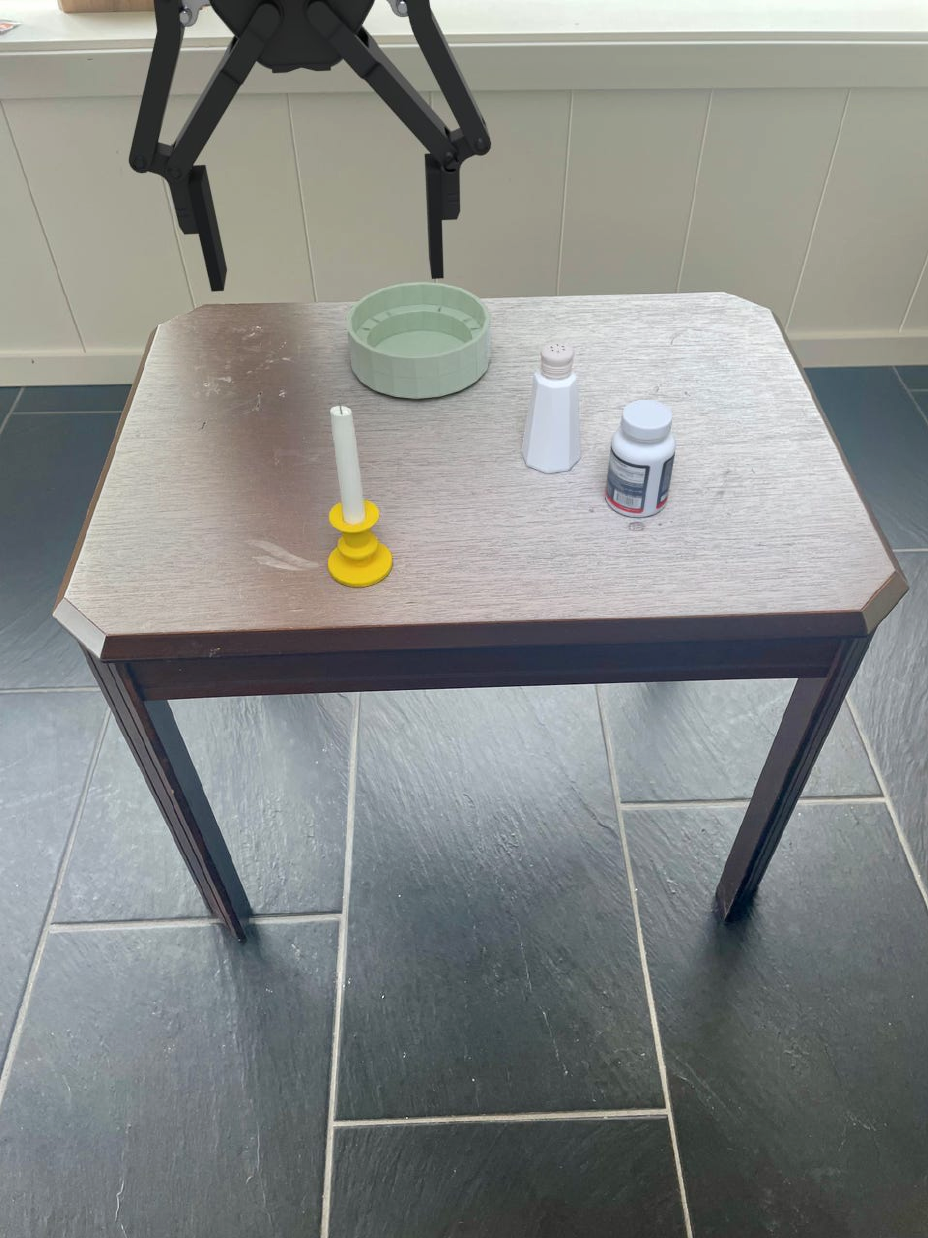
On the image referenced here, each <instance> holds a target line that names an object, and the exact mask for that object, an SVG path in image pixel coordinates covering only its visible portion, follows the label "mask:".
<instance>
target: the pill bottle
mask: <svg viewBox="0 0 928 1238" xmlns="http://www.w3.org/2000/svg"><path fill="white" fill-rule="evenodd" d="M621 412H622V413H621V417H620V418H621V419H620V426H619V427H618V428H616V429H615V431H614V432H613V434H612V437H611V441H610V449H609V458H608V466H607V474H606V475H607V477H606V484H605V499H606V502H607V504H608V505H609V507H610V508H611V509H613V510H614V511H616V513H619V514H621V515H623V516H625V517H630V518H645V517H650V516H653V515H656V514H657V513H659V512H660V511H662V510H663V509H664V508H665V507H666V504H667V501H668V498H669V497H668V496H669V491H670V486H671V481H672V474H673V468H674V462H675V457H676V456H675V455H676V448H677V441H676V438H675V437H676V436H675V435H674V433H673V432H672V430H671V429H672V425H673V412H672V410H671V408H670V407H668V406H667V405H666V404H665V403H662V402H660V401H657V400H655V399H654V400H653V399H637V400H634V401H630V402H629V403H627V404H626V405H625V406H624V408H623V409H622V411H621Z"/></svg>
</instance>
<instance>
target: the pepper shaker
mask: <svg viewBox="0 0 928 1238" xmlns="http://www.w3.org/2000/svg"><path fill="white" fill-rule="evenodd" d="M539 354H540V367H539V368H538V370H536V371H535V373H533V378H532V382H531V387H530V393H529V401H528V407H527V413H526V419H525V426H524V431H523V432H524V433H523V439H522V444H521V450H520V451H521V454H522V457H523V459H524V462H525V465H526V466H527V467H529V468H531V469H534V470H536V471H539V472H541V473H544V474H546V475H549V474H555V473H556V474H557V473H563V472H569V471H570V470H571V469H572V468H573V467H574V466H575V465H576V463H578V461H579V460H580V459H581V458H582V456H581V455H582V454H581V453H582V451H581V448H582V447H581V423H580V422H581V421H580V420H581V419H580V393H579V378H578V375H577V374H576V372H575V369H574V368H573V364H574V356H575V349H574V347H573V346H572V345H571V344H570V343H568V342H565V341H561V340H553V341H549V342H546V343H544V344H543V345H542V346H541V348H540V351H539Z"/></svg>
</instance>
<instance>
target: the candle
mask: <svg viewBox="0 0 928 1238" xmlns="http://www.w3.org/2000/svg"><path fill="white" fill-rule="evenodd" d="M329 412H330V424H331V432H332V433H331V434H332V441H333V446H334V447H333V448H334V455H335V457H334V458H335V463H336V471H337V478H338V485H339V486H338V487H339V494H340V501H339V502H338V503H337V504H335V505H334V506H333V507H332V508H331V509H330V511H329V514H328V521H329V523H330V525H331V526H332V527H333V528H334V529H336V530H338V531H339V532H341V536H340V537H339V538H338V541H337V546H336V547H335V548H334V549H333V550H332V551H331V553H330V554H329V556H328V559H327V570H328V572H329V575H330V576H331V578H332V579H333V580H334V581H336V582H337V583H339V584H341V585H344V586H347V587H351V588H366V587H370V586H373V585H376V584H378V583H380V582H382V581H383V580H384V579H385V578H386V577H388V576H389V574H390V573H391V571H392V569H393V563H394V562H393V555H392V552H391V550H390V549H389V548H388V547H387V546H386V545H385V544H384V543H382V542H380V541H379V540H378V537H377V536H376V534H375V533H373V532H372V531H371V528H372V527H374V526H375V525H376V524H377V522H378V521H379V518H380V510H379V508H378V506H377V505H376V504H375V503H374V502H372V501H370V500H367V499H364V491H363V484H362V476H361V468H360V460H359V451H358V444H357V443H358V442H357V438H356V436H357V435H356V429H355V423H354V422H355V421H354V419H353V418H354V417H353V411H352V409H351V408H349V407H347V406H343V405H342V403H340V402H339V404H338V405H336V406H333V407H331V408H330V411H329Z"/></svg>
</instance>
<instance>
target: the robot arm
mask: <svg viewBox="0 0 928 1238" xmlns="http://www.w3.org/2000/svg"><path fill="white" fill-rule="evenodd" d="M375 1H376V0H153V8H154V9H153V10H154V17H155V26H156V32H155V33H156V34H155V38H154V42H153V47H152V51H151V56H150V61H149V65H148V70H147V74H146V79H145V83H144V87H143V92H142V95H141V101H140V105H139V110H138V116H137V119H136V123H135V128H134V132H133V137H132V141H131V146H130V151H129V155H128V164H129V167H130V168H131V169H132V170H133V171H134V172H136V173H137V174H146V173H152V174H155V175H158V176H160V177H162V178H163V179H164V180H165V181H166V182H167V184H168V187H169V191H170V193H171V194H170V195H171V199H172V203H173V207H174V211H175V216H176V219H177V224H178V227H179V229H180V230H181V232H182V234H183V235H186V236H187V235H198V237H199V242H200V247H201V251H202V255H203V261H204V265H205V270H206V273H207V278H208V282H209V287H210V291H211V293H213V292H224V291H225V286H226V279H227V273H228V267H227V262H226V257H225V253H224V247H223V242H222V238H221V233H220V228H219V223H218V218H217V215H216V209H215V205H214V204H215V203H214V200H213V199H214V198H213V194H212V191H211V190H212V189H211V185H210V179H209V174H208V171H207V170H208V169H207V165H206V164H195V163H196V161H197V160H198V159H199V156H200V155H201V153H202V152H203V150H204V149H205V147H206V146H207V143H208V141H209V140H210V138H211V137H212V134H213V133H214V131H215V130H216V128H217V126H218V124H219V123H220V122H221V119H222V118H223V116H224V115H225V113H226V111H227V109H228V107H229V106H230V104H231V102H232V101H233V99H234V97H235V96H236V94H237V92H238V91H239V89H240V88H241V86H242V85H244V83H245V81H246V79H247V78H248V76H249V75H250V73H251V72H252V69H253V68H254V66H255V65H256V63H258V64H259V65H260V66H262V67H263V68H266V69H268V70H271V72H272V73H271V74H288V73H290V72H293V71H295V70H299V69H306V70H310V71H314V72H330V71H332V67H335V66H337V65H338V64H339V63H340V62H342V61H344V62H345V63H346V64H347V65H348V66H349V67H350V69H352V71H353V73H355V74H356V75H357V76H358V77H359V78H360V79H362V80H363V81H365V82H366V83H367V84H368V85H369V86H370V88H371V89H372V90H373V91H374V92H375V93H376V94H377V95H378V96H379V97H380V99H381V101H383V102H384V103H385V104H386V105H387V107H388V108H389V109H390V110H391V111H392V112H393V113H394V115H396V117H398V119H399V120H400V121H401V122H402V123H403V124H404V126H405V127H406V128H407V130H409V131H410V132H411V134H412V135H413V136H415V138H416V139H417V140H418V141H419V143H421V145H422V146H423V147H424V148H425V149H426V151H428V152H429V153H424V172H425V173H424V175H425V198H426V215H427V216H426V220H427V222H426V223H427V244H428V261H429V268H430V276H431V280H438V279H439V280H440V279H445V276H444V275H445V274H444V273H445V272H444V243H443V221H457V220H458V218H459V216H460V213H461V183H460V182H461V178H460V177H461V167H462V164H463V163H464V162H465V161H466V160H467V159H470V158H472V157H474V156H477V157H478V156H479V157H482V156H485V155H487V154H489V152H490V150H491V148H492V141H491V137H490V133H489V128H488V125H487V122H486V121H485V118H484V116H483V114H482V112H481V109H480V107H479V105H478V104H477V102H476V99H475V98H474V96H473V93H472V91H471V89H470V87H469V85H468V83H467V80H466V79H465V76H464V75H463V72H462V70H461V68H460V66H459V64H458V61H457V60H456V57H455V56H454V54H453V51H452V49H451V47H450V45H449V43H448V41H447V39H446V37H445V35H444V33H443V31H442V29H441V27H440V25H439V22H438V20H437V18H436V16H435V14H434V12H433V9H432V8H431V2H430V0H385V1H386V2H387V3H388V4H389V7H390V8H391V11H392V13H393V14H394V15H396V16H397V17H398V18H407V17H408V22H409V26H410V28H411V31H412V33H413V36H414V39H415V40H416V43H417V45H418V47H419V49H420V51H421V53H422V56H424V58H425V61H426V63H427V65H428V66H429V70H430V71H431V73H432V75H433V76H434V77H433V78H434V79H435V81H436V83H437V84H438V86H439V89H440V91H441V93H442V95H443V97H444V100H445V101H446V102H447V105H448V107H449V109H450V111H451V112H452V115H453V116H454V118H455V121H456V122H457V125H458V126H459V128H456V129H453V130H451V129H450V128H449V127H448V126H447V124H446V123H445V122H444V120H442V119H441V117H440V116H439V115H438V114H437V113H436V111H435V110H434V109H433V108H432V107H431V106H430V104H428V102H427V101H426V100H425V99H424V98H423V97H422V95H421V94H420V93H419V92H418V91H417V89H416V88H415V87H414V86H413V85H412V83H410V81H409V80H408V79H407V78H406V77H405V76H404V74H403V73H402V72H401V71H400V70H399V68H397V66H396V64H394V63H393V62H392V60H390V58H389V57H388V56H387V55H386V53H384V51H383V50H382V49H381V47H380V46H379V45H378V43H377V41H376V40H375V38H374V37H373V36H372V35H371V34H370V32H369V31H368V30H367V28H365V26H364V25H363V24H364V22H365V21H366V19H367V18H368V15H369V14H370V12H371V10H372V9H373V7H374V5H375ZM205 6H210V7H211V9H212V11H214V13H215V14H216V15H217V16H218V18H219V19H220V20H221V22H222V23H223V24H224V25H225V26H226V27H227V28H228V30H229V31H230V33H231V34H233V36H232V38H231V40H230V41H229V43H228V45H227V47H226V50H225V51H224V53H223V56H222V57H221V59H220V60H219V63H218V64H217V66H216V68H215V70H214V71H213V73H212V75H211V77H210V79H209V80H208V82H207V83H206V85H205V87H204V89H203V91H202V93H201V94H200V95H199V98H197V99H198V100H197V101H196V103H195V105H194V107H192V110H191V111H190V113H189V115H188V117H187V119H186V120H185V123H184V124H183V126H182V127H181V129H180V131H179V133H177V134H178V135H177V136H176V138H175V140H174V141H173V143H171V144H166V143H164V142H159V140H160V136H161V131H162V128H163V124H164V119H165V116H166V112H167V106H168V102H169V99H170V94H171V89H172V85H173V81H174V77H175V73H176V69H177V66H178V61H179V57H180V53H181V49H182V44H183V40H184V37H185V32H186V31H185V30H186V28H190V27H193V26H194V25H195V24H196V23H197V21H198V19H199V15H200V10H201V9H202V8H203V7H205Z"/></svg>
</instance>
